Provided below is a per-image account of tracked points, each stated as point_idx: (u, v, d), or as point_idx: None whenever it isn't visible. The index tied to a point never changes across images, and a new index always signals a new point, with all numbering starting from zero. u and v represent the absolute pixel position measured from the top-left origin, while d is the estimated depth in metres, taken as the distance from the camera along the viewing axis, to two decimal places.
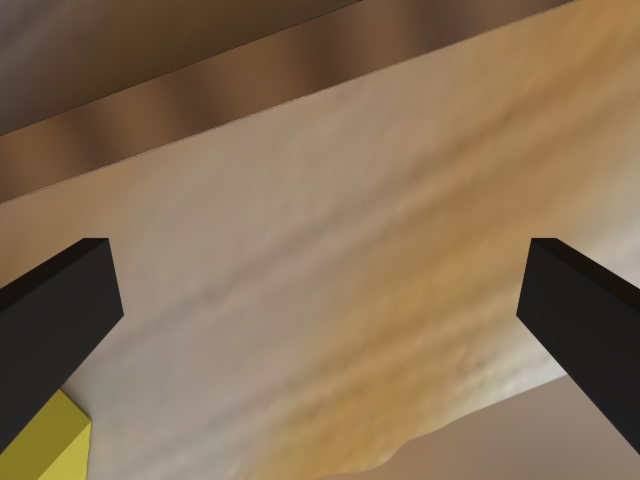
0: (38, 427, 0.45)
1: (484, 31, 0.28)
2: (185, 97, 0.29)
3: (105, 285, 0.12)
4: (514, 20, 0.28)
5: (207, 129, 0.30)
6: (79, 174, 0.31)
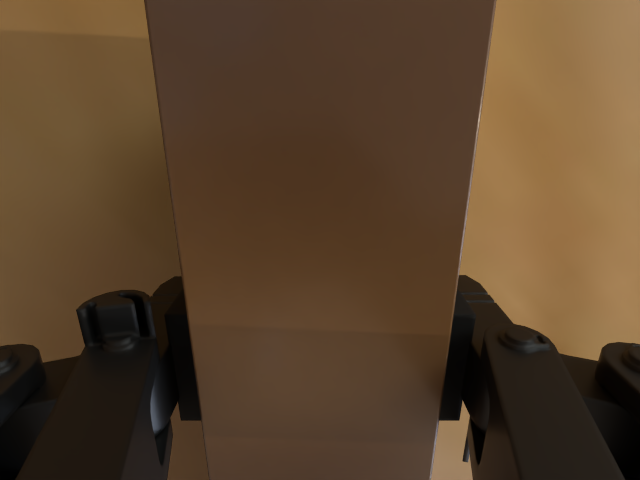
0: None
1: None
2: None
3: None
4: None
5: None
6: None
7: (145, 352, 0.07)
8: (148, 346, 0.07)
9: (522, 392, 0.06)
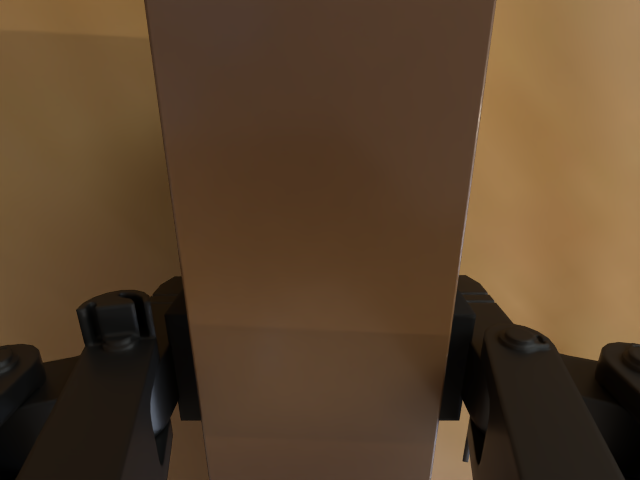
0: None
1: None
2: None
3: None
4: None
5: None
6: None
7: (145, 352, 0.07)
8: (148, 346, 0.07)
9: (523, 392, 0.06)
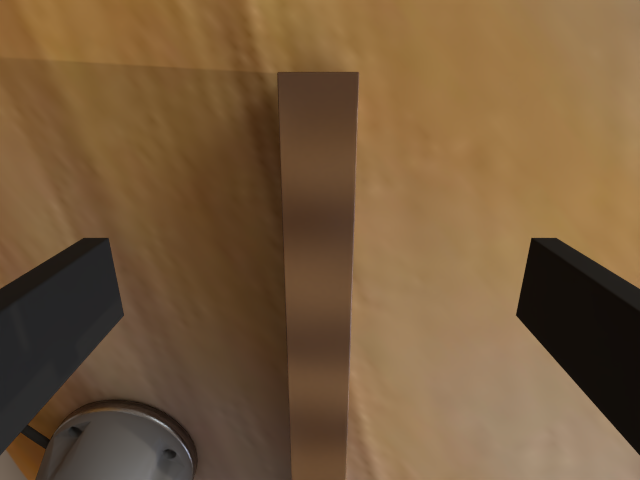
0: None
1: (350, 307, 0.28)
2: None
3: (105, 285, 0.12)
4: (350, 280, 0.27)
5: None
6: None
7: None
8: None
9: None
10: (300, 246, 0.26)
